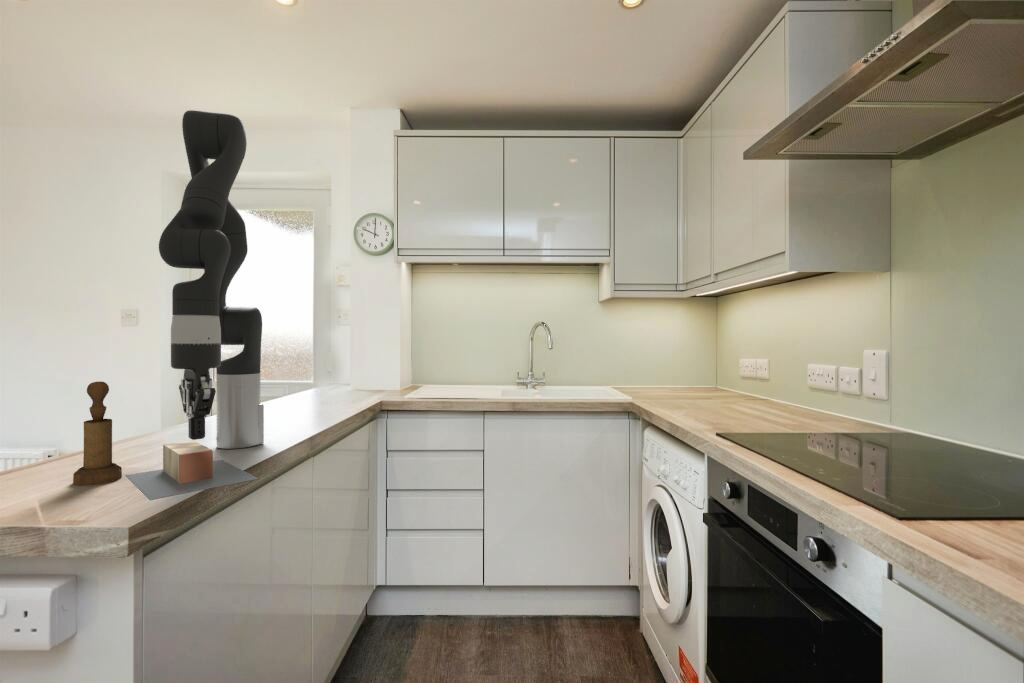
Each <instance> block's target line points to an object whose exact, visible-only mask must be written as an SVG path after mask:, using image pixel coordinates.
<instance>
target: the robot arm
mask: <svg viewBox="0 0 1024 683" xmlns="http://www.w3.org/2000/svg"><path fill="white" fill-rule="evenodd" d="M181 123H182V124H181V125H182V128H181V129H182V136H183V142H184V146H185V151H186V152H185V153H186V157H187V161H188V162H187V163H188V166H189V171H190V176H191V178H190V180H189V182H187V184H186V186H185V189H184V193H183V196H182V200H181V205H180V209H179V210H178V211H177V212H176V214H175V215H174V217H173V218H172V219H171V220H170V222H169V223H168V224H167V225H166V226H165V228H164V229H163V231H162V232H161V235H160V238H159V241H158V252H159V255H160V258H161V259H162V260H163V261H164V262H165V264H167V266H170V267H172V268H176V269H191V270H192V269H195V270H196V269H198V270H203V271H204V272H203V274H202V275H201V276H200V277H199V278H196V279H193V280H187V281H180V282H177V283H175V284H174V285H173V287H172V293H171V295H172V298H171V300H172V301H171V302H172V303H171V304H172V305H171V306H172V307H171V308H172V316H171V318H172V319H171V324H170V325H171V326H170V367H171V368H172V369H175V370H184V371H183V378H181V380H180V384H179V386H178V389H179V394H180V399H181V403H182V408H183V412H184V414H185V415H186V418H188V422H187V423H188V438H189V439H190V440H191V441H195V440H201V439H204V438H205V437H206V417H207V416H209V415H210V414H211V410H212V406H213V403H214V401H215V400H214V399H215V395H216V437H215V438H216V439H215V440H216V448H218V449H228V450H230V449H231V450H232V449H243V448H250V447H254V446H258V445H261V444H262V445H263V444H264V443H265V441H264V440H265V438H264V436H265V435H264V432H265V431H264V430H265V429H264V426H265V425H264V424H265V423H264V422H265V421H264V420H265V417H264V415H265V413H264V406H265V405H264V404H263V403H261V361H262V360H261V358H262V355H261V354H262V353H261V352H262V335H263V319H262V318H263V317H262V313H261V311H260V309H259V308H258V307H254V306H227V303H226V302H227V300H226V297H227V293H228V292H227V291H228V289H229V286H230V284H231V283H232V281H233V278H234V277H235V275H236V274H237V272H238V271H239V269H241V266H242V265H243V263H244V261H245V259H246V257H247V254H248V238H247V229H246V227H247V226H246V223H245V221H244V219H243V217H242V215H241V214H240V212H239V211H238V210H237V209H236V207H235V206H234V205H233V204H232V202H231V201H230V199H229V196H230V194H231V193H230V192H231V190H232V187H233V185H234V183H235V181H236V178H237V176H238V174H239V171H240V169H241V166H242V164H243V161H244V159H245V156H246V153H247V133H246V130H245V126H244V123H243V122H242V120H241V119H240V118H239V117H238V116H237V115H233V114H229V113H223V112H221V113H220V112H215V111H214V112H211V111H203V110H202V111H201V110H191V109H189V110H186V111H185V112H184V114H183V115H182V122H181ZM209 160H213V161H212V162H211V163H210V162H209ZM222 346H243V349H242V350H241V352H240V353H237V355H235V356H233V357H230V358H226V359H223V360H222ZM210 369H216V388H215V387H213V379H212V378H211V376H210Z"/></svg>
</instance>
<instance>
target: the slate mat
mask: <svg viewBox="0 0 1024 683" xmlns="http://www.w3.org/2000/svg"><path fill="white" fill-rule="evenodd" d="M125 477H126V478H128V480H129V481H130V482H131V483H132V484H133V485H134V486H135V487H136V488H137V489H138V490H139V491H140V492H141V493H142V494H143V495H144V496H145V497H146V498H147V499H148V500H150V501H153V500H158V499H163V498H168V497H169V498H170V497H174V496H178V495H183V494H188V493H194V492H199V491H203V490H209V489H214V488H219V487H224V486H230V485H234V484H240V483H245V482H251V481H255V480H259V478H258V477H256V476H254V475H253V474H250V473H249V472H247V471H245V470H243V469H241V468H239V467H237V466H235V465H233V464H232V463H230V462H227V461H225V460H223V459H218V460H213V478H209V479H204V480H198V481H193V482H187V483H182V484H180V483H179V482H177V481H176V480H175V479H173V478H172V477H171V476H169V475H168V474H167V473H165V472H164V471H163V468H161V469H155V470H149V471H144V472H137V473H131V474H125Z"/></svg>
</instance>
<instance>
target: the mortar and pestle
mask: <svg viewBox="0 0 1024 683" xmlns="http://www.w3.org/2000/svg"><path fill="white" fill-rule="evenodd" d="M109 392H110V387H109V385H108V383H107V382H105V381H92V382H91V383H89V384H88V386H87V387H86V393H87V395H88V396H89V397H90V399H91V400H92V404H91V406H90V407H89V408H88V409H89V412H90V416H91V419H88V420H85V421H83V465H82V467H79V468H78V469H77V470H76V471H74V472H73V474H72V475H73V476H72V478H73V479H72V485H73V486H77V487H89V486H90V487H91V486H97V485H103V484H109V483H112V482H115V481H118V480H121V479H122V476H123V473H122V472H123V471H122V470H123V469H122V466H121V465H118V464H117V463H115V462H113V419H112V418H104V417H105V414H106V411H107V406H106V405H105V404H104V400H105V398H106V397H107V395H108V394H109Z"/></svg>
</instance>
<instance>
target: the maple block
mask: <svg viewBox="0 0 1024 683" xmlns="http://www.w3.org/2000/svg"><path fill="white" fill-rule="evenodd" d="M162 445H163V446H162V447H163V448H162V449H163V450H162V452H163V453H162V454H163V455H162V456H163V457H162V458H163V459H162V469H163V471H164V472H165V473H167V474H168V475H169V476H171V477H172V478H173V479H175V480H176V481H177V482H179V483H180V484H182V483H187V482H193V481H198V480H204V479H209V478H213V461H214V458H213V456H214V453H213V452H214V450H213V449H211V448H210V447H207V446H206V445H203V444H201V443H200V442H197V441H195V440H188V441H180V442H173V443H165V444H162Z"/></svg>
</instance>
